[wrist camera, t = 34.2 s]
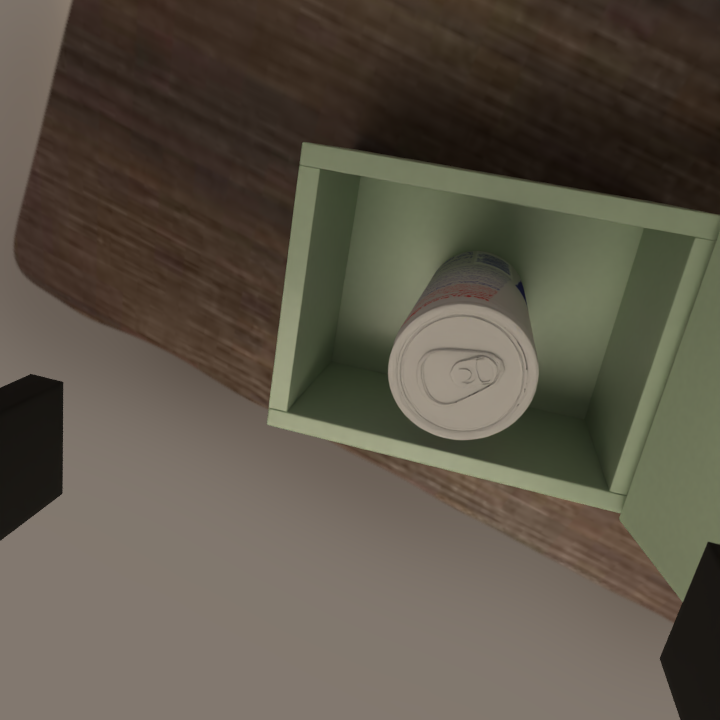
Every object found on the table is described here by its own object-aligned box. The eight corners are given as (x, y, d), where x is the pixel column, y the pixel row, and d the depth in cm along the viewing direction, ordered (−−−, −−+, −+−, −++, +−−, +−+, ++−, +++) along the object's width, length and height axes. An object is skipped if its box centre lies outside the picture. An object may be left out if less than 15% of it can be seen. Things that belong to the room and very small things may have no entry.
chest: (318, 367, 41) (266, 425, 32) (352, 148, 37) (301, 141, 27) (594, 431, 39) (624, 515, 29) (666, 204, 34) (729, 216, 25)
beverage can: (409, 302, 38) (355, 380, 24) (471, 229, 36) (451, 268, 22) (479, 361, 38) (467, 473, 24) (544, 291, 36) (573, 370, 22)
